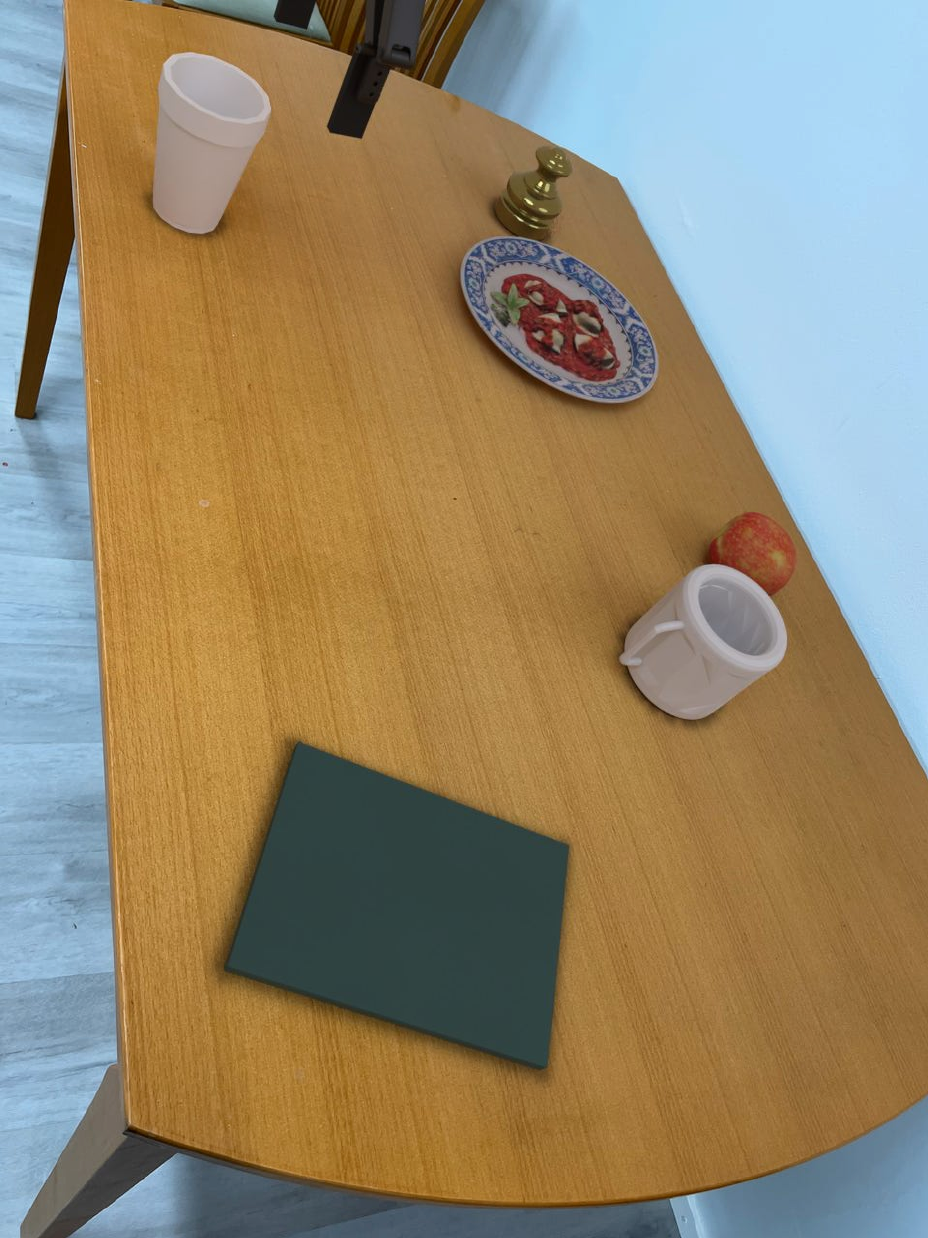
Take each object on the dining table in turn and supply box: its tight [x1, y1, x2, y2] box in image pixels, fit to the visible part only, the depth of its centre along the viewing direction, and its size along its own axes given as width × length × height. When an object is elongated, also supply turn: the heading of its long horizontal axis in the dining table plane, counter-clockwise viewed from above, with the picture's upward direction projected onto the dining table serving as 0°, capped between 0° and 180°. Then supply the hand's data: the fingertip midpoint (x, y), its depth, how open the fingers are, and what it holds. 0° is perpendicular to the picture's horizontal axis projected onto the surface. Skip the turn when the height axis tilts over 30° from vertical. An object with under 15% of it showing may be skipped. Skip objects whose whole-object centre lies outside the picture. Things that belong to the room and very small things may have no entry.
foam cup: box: [152, 51, 272, 235], centre depth 90 cm, size 10×9×13 cm
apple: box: [707, 511, 797, 597], centre depth 99 cm, size 8×8×8 cm
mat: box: [223, 741, 570, 1071], centre depth 66 cm, size 22×16×1 cm
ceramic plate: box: [459, 235, 660, 404], centre depth 111 cm, size 26×26×3 cm
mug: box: [618, 564, 788, 720], centre depth 86 cm, size 14×11×10 cm
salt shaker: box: [494, 145, 574, 241], centre depth 118 cm, size 7×7×10 cm
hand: (316, 76), depth 76 cm, fingers open, 13 cm apart
